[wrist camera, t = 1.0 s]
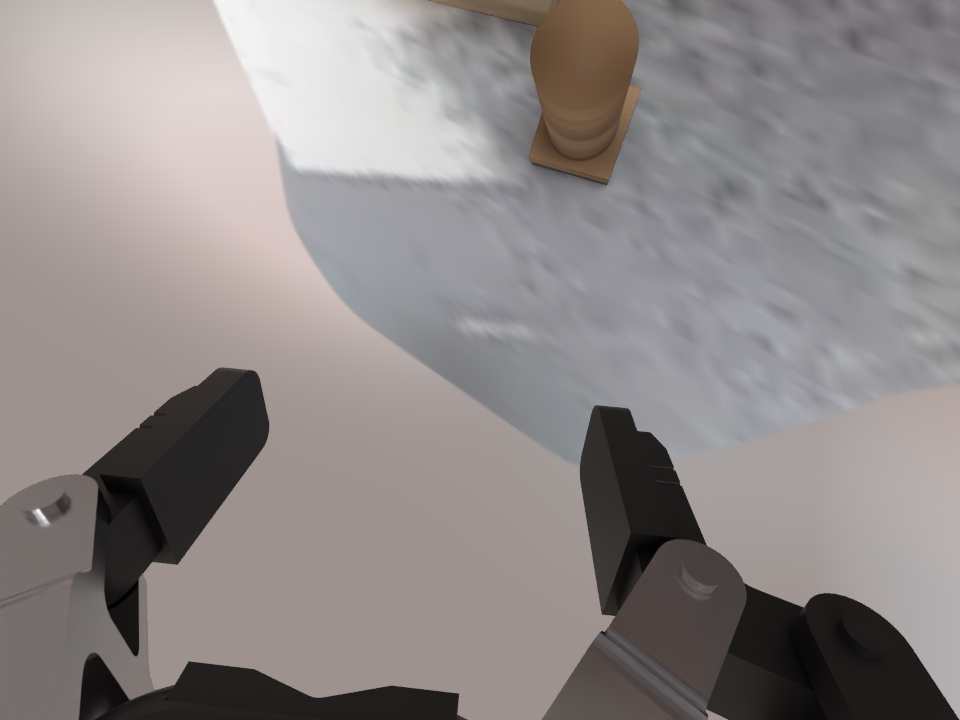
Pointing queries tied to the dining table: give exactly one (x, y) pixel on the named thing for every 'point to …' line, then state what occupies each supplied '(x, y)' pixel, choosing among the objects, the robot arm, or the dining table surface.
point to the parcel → (507, 8)
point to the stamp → (584, 86)
